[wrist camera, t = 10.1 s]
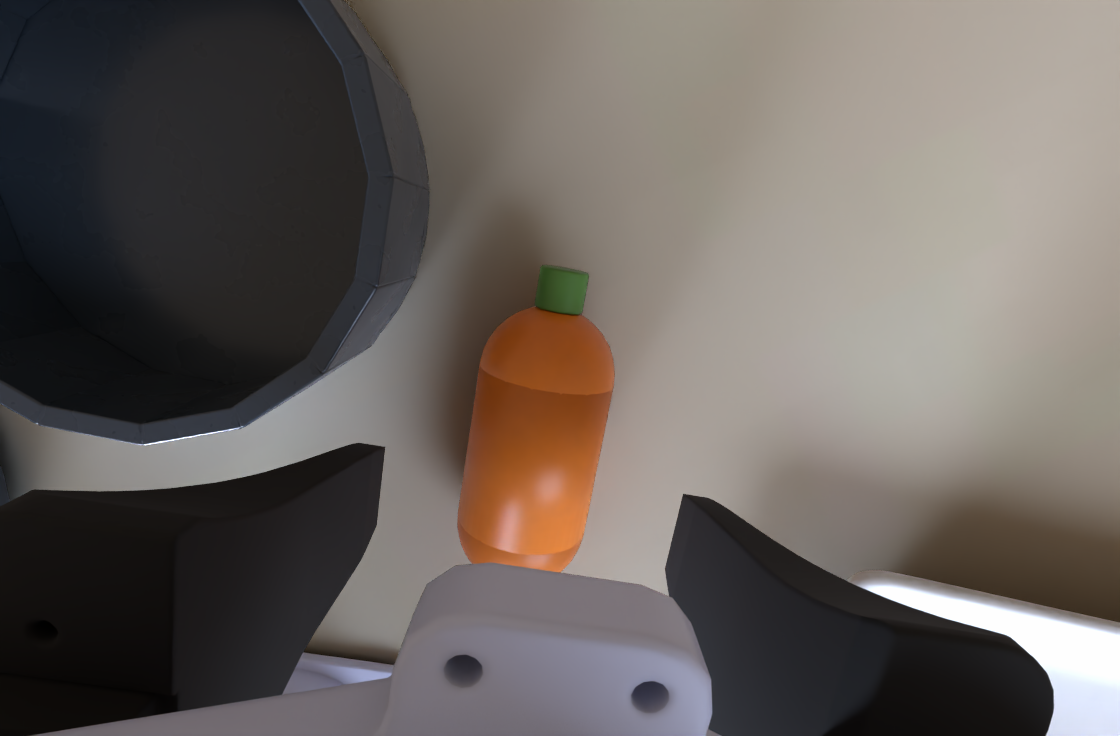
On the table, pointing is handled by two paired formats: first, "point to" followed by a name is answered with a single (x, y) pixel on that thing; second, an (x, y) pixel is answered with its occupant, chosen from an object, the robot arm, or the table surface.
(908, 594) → the tray
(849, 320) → the table surface
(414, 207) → the pan
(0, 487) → the lid
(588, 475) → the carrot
